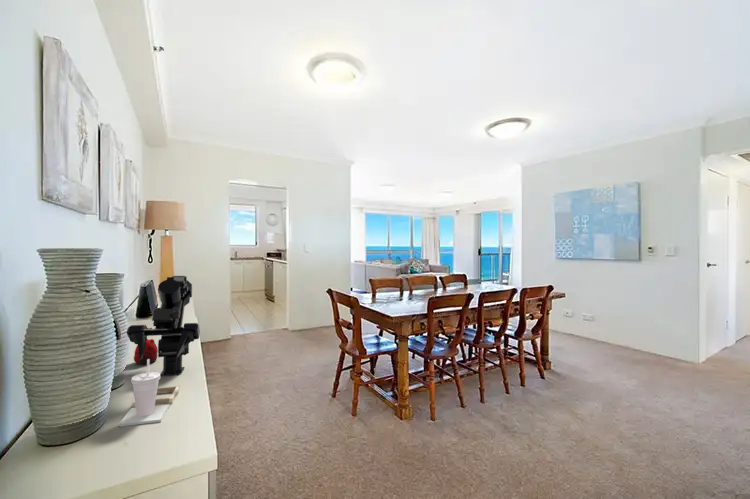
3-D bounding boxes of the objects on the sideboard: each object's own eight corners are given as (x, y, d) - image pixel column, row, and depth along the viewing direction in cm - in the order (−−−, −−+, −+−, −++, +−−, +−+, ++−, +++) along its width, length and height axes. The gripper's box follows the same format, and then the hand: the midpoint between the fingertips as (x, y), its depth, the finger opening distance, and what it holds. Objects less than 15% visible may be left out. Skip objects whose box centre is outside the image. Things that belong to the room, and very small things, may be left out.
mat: (131, 410, 92) (131, 408, 92) (169, 406, 95) (169, 404, 95) (118, 426, 84) (118, 424, 84) (160, 421, 87) (160, 419, 87)
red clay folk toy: (159, 359, 135) (160, 320, 136) (154, 364, 129) (155, 324, 129) (136, 360, 133) (137, 321, 133) (130, 366, 126) (131, 325, 126)
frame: (143, 393, 103) (143, 388, 103) (179, 390, 106) (179, 385, 106) (132, 407, 94) (132, 402, 94) (172, 403, 97) (172, 398, 97)
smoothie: (145, 420, 86) (146, 364, 86) (123, 417, 87) (124, 362, 87) (165, 409, 92) (166, 356, 92) (145, 406, 93) (146, 354, 93)
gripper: (129, 298, 102) (113, 345, 92) (199, 297, 108) (191, 342, 98) (137, 319, 110) (123, 365, 100) (202, 317, 116) (195, 360, 105)
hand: (159, 357), depth 100 cm, fingers open, 9 cm apart
